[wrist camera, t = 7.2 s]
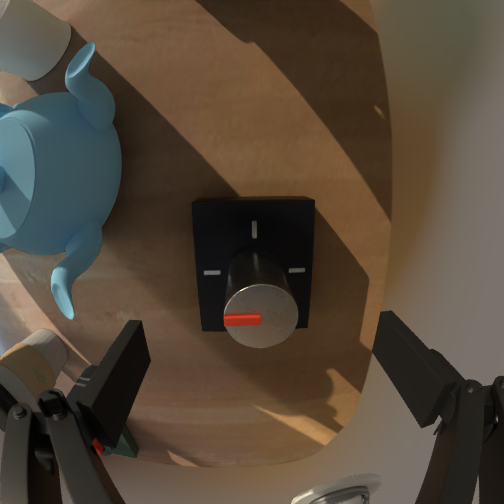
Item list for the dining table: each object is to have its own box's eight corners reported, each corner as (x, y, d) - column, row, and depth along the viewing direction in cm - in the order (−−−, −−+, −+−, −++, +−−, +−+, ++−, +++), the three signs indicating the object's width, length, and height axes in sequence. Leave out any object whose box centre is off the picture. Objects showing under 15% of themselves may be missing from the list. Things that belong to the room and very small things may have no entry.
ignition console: (139, 449, 36) (134, 466, 32) (82, 436, 35) (75, 450, 31) (121, 414, 33) (113, 433, 29) (60, 400, 32) (51, 416, 29)
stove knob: (280, 245, 23) (301, 284, 15) (280, 293, 24) (297, 349, 16) (227, 246, 23) (220, 287, 15) (230, 295, 24) (225, 352, 16)
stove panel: (301, 313, 28) (308, 329, 25) (205, 316, 28) (201, 332, 25) (306, 196, 25) (315, 200, 22) (197, 198, 25) (191, 202, 22)
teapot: (139, 263, 26) (80, 325, 14) (14, 246, 25) (-52, 280, 13) (153, 88, 21) (93, 38, 10) (19, 108, 20) (-53, 99, 8)
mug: (19, 34, 16) (-34, 12, 5) (67, -4, 16) (20, -41, 4) (23, 94, 20) (-45, 81, 8) (76, 52, 19) (11, 15, 8)
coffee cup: (89, 369, 30) (42, 449, 16) (50, 374, 31) (5, 439, 16) (53, 309, 28) (-17, 379, 13) (18, 322, 28) (-42, 379, 14)
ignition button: (107, 450, 31) (104, 458, 29) (87, 445, 31) (84, 452, 29) (98, 437, 30) (95, 445, 28) (78, 432, 30) (74, 439, 28)
